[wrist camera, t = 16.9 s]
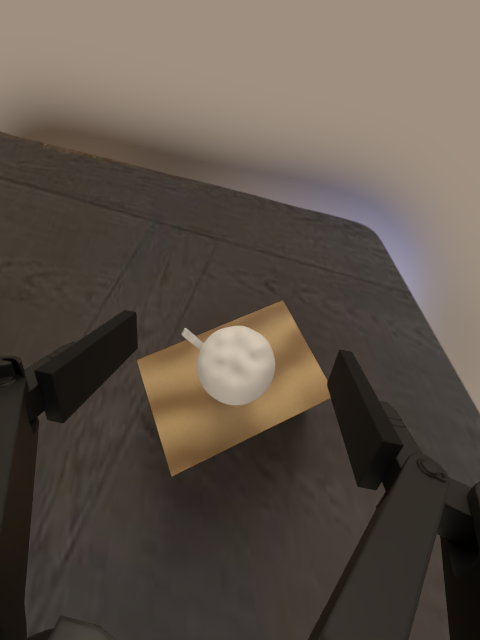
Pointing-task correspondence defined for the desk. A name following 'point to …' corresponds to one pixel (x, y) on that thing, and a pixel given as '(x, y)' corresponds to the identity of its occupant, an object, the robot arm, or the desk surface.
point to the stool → (222, 419)
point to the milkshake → (234, 364)
